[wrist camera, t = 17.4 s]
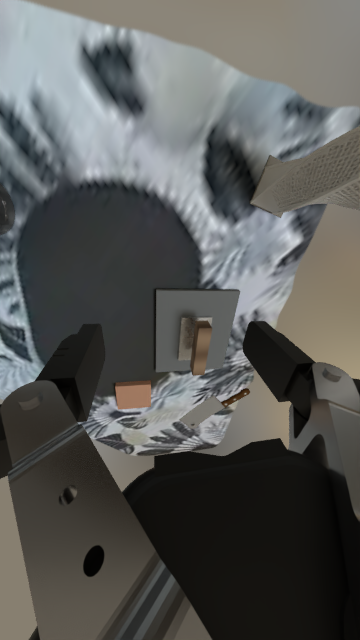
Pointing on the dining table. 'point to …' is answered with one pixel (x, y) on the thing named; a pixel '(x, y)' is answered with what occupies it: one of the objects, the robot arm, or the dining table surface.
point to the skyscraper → (313, 178)
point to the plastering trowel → (195, 342)
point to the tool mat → (192, 305)
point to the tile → (133, 394)
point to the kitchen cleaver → (209, 409)
